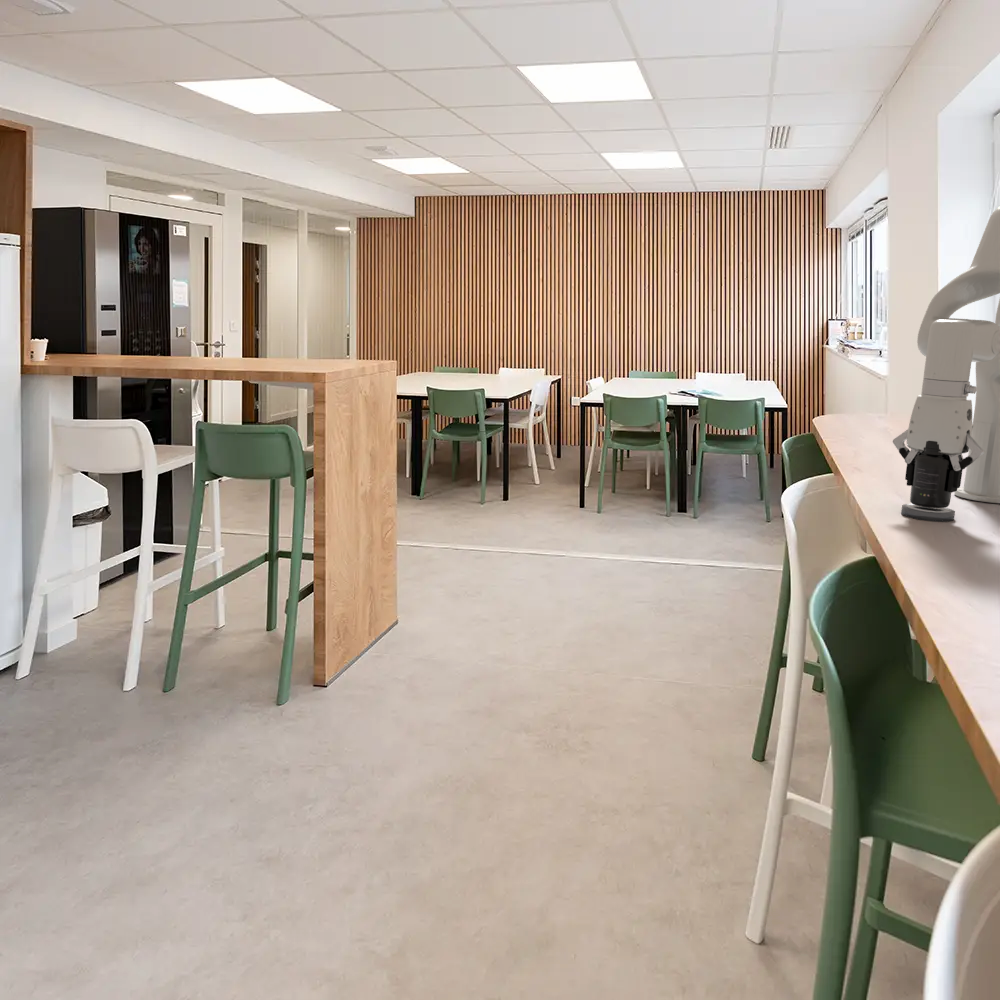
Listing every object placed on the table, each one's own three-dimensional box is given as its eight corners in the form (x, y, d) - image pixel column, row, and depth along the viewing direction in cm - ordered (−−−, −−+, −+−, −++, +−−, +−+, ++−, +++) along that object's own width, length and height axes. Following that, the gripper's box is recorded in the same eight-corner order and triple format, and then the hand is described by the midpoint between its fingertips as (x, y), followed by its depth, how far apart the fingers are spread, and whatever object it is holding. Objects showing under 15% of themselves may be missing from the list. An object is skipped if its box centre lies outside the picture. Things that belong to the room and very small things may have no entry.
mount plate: (912, 509, 192) (913, 500, 192) (961, 517, 186) (962, 509, 186) (893, 514, 186) (894, 506, 185) (943, 523, 180) (944, 515, 179)
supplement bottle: (915, 499, 190) (924, 435, 188) (954, 505, 186) (963, 440, 184) (903, 504, 185) (912, 438, 183) (942, 510, 181) (951, 443, 178)
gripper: (1002, 394, 178) (988, 493, 182) (904, 384, 190) (893, 478, 193) (988, 395, 173) (973, 498, 176) (888, 386, 184) (876, 482, 188)
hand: (931, 487), depth 185 cm, fingers closed on supplement bottle, 6 cm apart
